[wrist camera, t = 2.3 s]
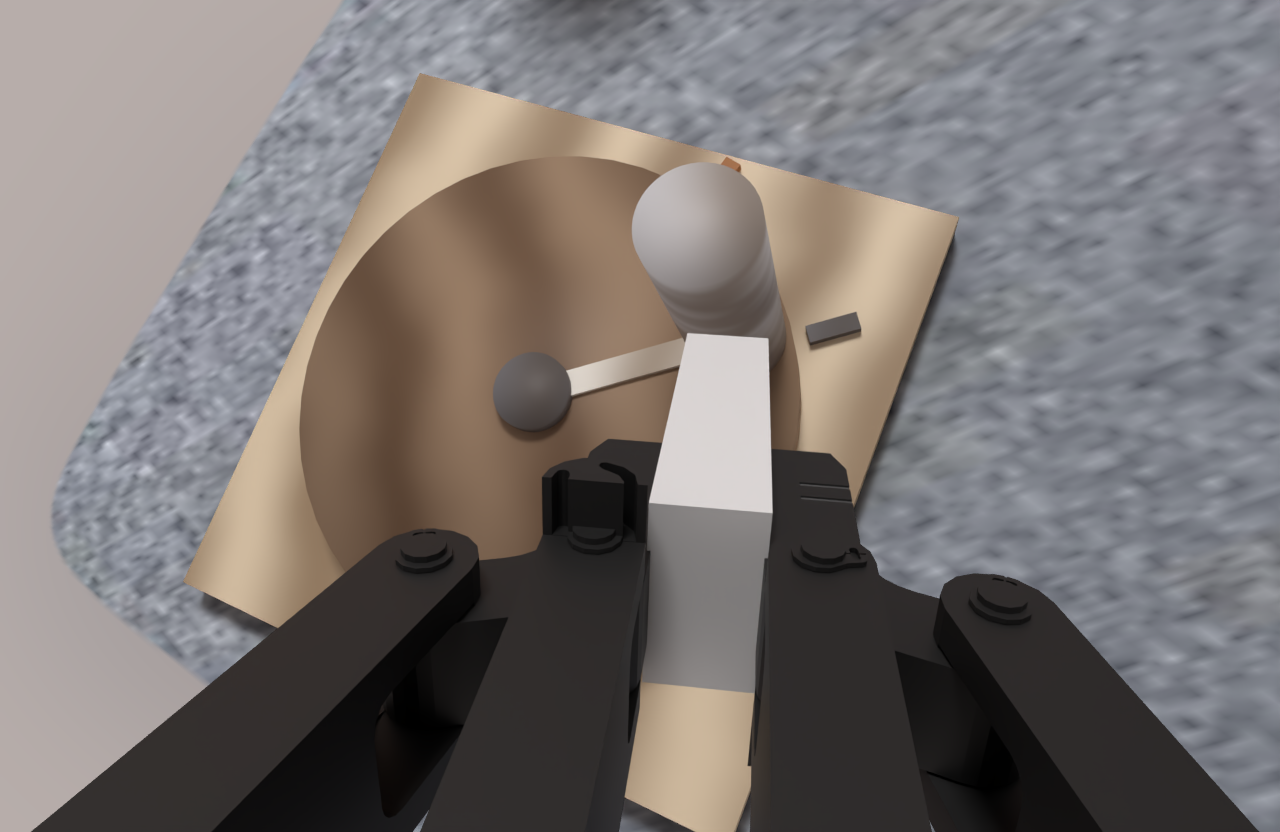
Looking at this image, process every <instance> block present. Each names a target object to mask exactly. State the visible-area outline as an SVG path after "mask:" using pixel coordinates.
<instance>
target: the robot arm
mask: <svg viewBox="0 0 1280 832" xmlns="http://www.w3.org/2000/svg"><path fill="white" fill-rule="evenodd" d="M542 526H543V535H542V537H541V540H540V542H539V545H538V547H537V549H536V550H535V551H532V552H529V553H526V554H522V555H518V556H512V557H506V558H497V559H487V560H479V553H478V546H477V545H476V544H475V543H474V542H473V541H472V540H471V539H470V538H469V537H468V536H465V535H462V534H460V533H457V532H455V531H450V530H441V529H436V528H426V529H424V530H423V529H417V530H412V531H410V532H406V533H403V534H400V535H396V536H393V537H392V538H390V539H388V540H387V541H385V542H383V543H381V544H380V545H378V546H377V547H376V548H374V549H373V550H372V551H371V552H370V553H368V554H367V555H366V556H365V557H364V558H362V559H361V560H360V561H359V562H358V563H356V564H355V565H354V566H353V567H351V568H350V569H349V570H348V571H347V572H345V573H344V574H343V575H342V576H341V577H339V578H338V579H337V580H336V581H334V582H333V583H332V584H331V585H330V586H328V587H327V588H326V589H325V590H324V591H322V592H321V593H320V594H319V595H317V596H316V597H315V598H314V599H313V600H311V601H310V602H309V603H308V604H307V605H305V606H304V607H303V608H302V609H301V610H299V611H298V612H297V613H296V614H294V615H293V616H292V617H291V618H290V619H288V620H287V621H286V622H285V623H284V624H282V625H281V626H280V627H279V628H277V629H276V630H275V631H274V632H273V633H271V634H270V635H269V636H268V637H267V638H265V639H264V640H263V641H262V642H261V643H259V644H258V645H257V646H256V647H254V648H253V649H252V650H251V651H250V652H248V653H247V654H246V655H245V656H244V657H242V658H241V659H240V660H239V661H237V662H236V663H235V664H234V665H233V666H231V667H230V668H229V669H228V670H227V671H225V672H224V673H223V674H222V675H221V676H219V677H218V678H217V679H216V680H214V681H213V682H212V683H211V684H210V685H208V686H207V687H206V688H205V689H204V690H202V691H201V692H200V693H199V694H198V695H196V696H195V697H194V698H193V699H191V700H190V701H189V702H188V703H187V704H186V705H184V706H183V707H182V708H181V709H179V710H178V711H177V712H176V713H174V714H173V715H172V716H171V717H170V718H168V719H167V720H166V721H165V722H164V723H162V724H161V725H160V726H159V727H157V728H156V729H155V730H154V731H153V732H152V733H150V734H149V735H148V736H147V737H146V738H144V739H143V740H142V741H141V742H139V743H138V744H137V745H136V746H135V747H133V748H132V749H131V750H130V751H128V752H127V753H126V754H125V755H124V756H122V757H121V758H120V759H119V760H117V761H116V762H115V763H114V764H113V765H112V766H110V767H109V768H108V769H107V770H106V771H104V772H103V773H102V774H101V775H99V776H98V777H97V778H96V779H95V780H93V781H92V782H91V783H90V784H88V785H87V786H86V787H85V788H84V789H82V790H81V791H80V792H79V793H77V794H76V795H75V796H74V797H73V798H71V799H70V800H69V801H68V802H67V803H65V804H64V805H63V806H62V807H61V808H59V809H58V810H57V811H56V812H55V813H54V814H52V815H51V816H50V817H49V818H47V819H46V820H45V821H44V822H42V823H41V824H40V825H39V826H38V827H36V828H35V829H34V830H33V831H32V832H413V831H414V829H415V828H416V826H417V825H418V824H419V822H420V821H421V820H422V818H423V817H424V816H425V814H426V813H427V812H428V814H427V816H426V819H425V821H424V824H423V826H422V828H421V831H420V832H619V828H620V822H621V816H622V810H623V804H624V798H625V792H626V786H627V780H628V774H629V769H630V763H631V757H632V751H633V745H634V739H635V733H636V727H637V721H638V715H639V710H640V686H641V673H642V668H643V673H642V682H647V683H657V684H667V685H676V686H686V687H696V688H706V689H716V690H725V691H735V692H745V693H755V694H754V704H753V715H752V725H751V735H750V745H749V755H748V765H747V766H751V814H750V832H932V831H931V826H930V822H931V824H932V826H933V828H934V830H935V832H1259V831H1258V830H1257V829H1256V828H1255V827H1254V826H1253V824H1252V823H1251V822H1250V821H1249V820H1248V819H1247V818H1246V817H1245V815H1244V814H1243V813H1242V812H1241V811H1240V810H1239V809H1238V808H1237V807H1236V805H1235V804H1234V803H1233V802H1232V801H1231V800H1230V799H1229V798H1228V797H1227V795H1226V794H1225V793H1224V792H1223V791H1222V790H1221V789H1220V788H1219V786H1218V785H1217V784H1216V783H1215V782H1214V781H1213V780H1212V779H1211V778H1210V776H1209V775H1208V774H1207V773H1206V772H1205V771H1204V770H1203V769H1202V767H1201V766H1200V765H1199V764H1198V763H1197V762H1196V761H1195V760H1194V759H1193V757H1192V756H1191V755H1190V754H1189V753H1188V752H1187V751H1186V750H1185V748H1184V747H1183V746H1182V745H1181V744H1180V743H1179V742H1178V741H1177V740H1176V738H1175V737H1174V736H1173V735H1172V734H1171V733H1170V732H1169V731H1168V729H1167V728H1166V727H1165V726H1164V725H1163V724H1162V723H1161V722H1160V721H1159V719H1158V718H1157V717H1156V716H1155V715H1154V714H1153V713H1152V712H1151V710H1150V709H1149V708H1148V707H1147V706H1146V705H1145V704H1144V703H1143V702H1142V700H1141V699H1140V698H1139V697H1138V696H1137V695H1136V694H1135V693H1134V691H1133V690H1132V689H1131V688H1130V687H1129V686H1128V685H1127V684H1126V683H1125V681H1124V680H1123V679H1122V678H1121V677H1120V676H1119V675H1118V674H1117V673H1116V671H1115V670H1114V669H1113V668H1112V667H1111V666H1110V665H1109V664H1108V662H1107V661H1106V660H1105V659H1104V658H1103V657H1102V656H1101V655H1100V654H1099V652H1098V651H1097V650H1096V649H1095V648H1094V647H1093V646H1092V645H1091V643H1090V642H1089V641H1088V640H1087V639H1086V638H1085V637H1084V636H1083V635H1082V633H1081V632H1080V631H1079V630H1078V629H1077V628H1076V627H1075V626H1074V624H1073V623H1072V622H1071V621H1070V620H1069V619H1068V618H1067V617H1066V616H1065V614H1064V613H1063V612H1062V611H1061V610H1060V609H1059V608H1058V607H1057V605H1056V604H1055V603H1054V602H1052V601H1051V600H1050V599H1049V598H1048V597H1046V596H1045V595H1044V594H1043V593H1041V592H1040V591H1039V590H1037V589H1035V588H1033V587H1030V586H1028V585H1026V584H1024V583H1022V582H1020V581H1018V580H1016V579H1012V578H1009V577H1007V578H1006V577H1004V576H1001V575H995V574H969V575H963V576H957V577H955V578H953V579H952V580H950V581H949V582H947V583H945V584H944V586H943V589H942V592H941V594H940V599H939V598H935V597H932V596H928V595H924V594H921V593H917V592H914V591H911V590H908V589H905V588H902V587H899V586H897V585H895V584H893V583H891V582H889V581H887V580H885V579H884V578H882V577H881V576H880V575H879V573H878V568H877V563H876V561H875V560H874V558H873V556H872V554H871V552H870V551H869V550H867V549H866V548H865V547H863V546H862V545H861V544H860V539H859V534H858V529H857V523H856V518H855V513H854V507H853V503H852V497H851V491H850V489H849V481H848V475H847V470H846V468H845V467H844V466H843V465H842V464H841V463H840V462H839V461H838V460H836V459H835V458H834V457H833V456H832V455H831V454H830V453H820V452H807V451H794V450H781V449H771V428H770V387H769V346H768V338H754V337H739V336H724V335H708V334H693V333H687V337H686V342H685V346H684V350H683V355H682V359H681V364H680V368H679V372H678V377H677V381H676V386H675V390H674V394H673V399H672V403H671V407H670V412H669V416H668V421H667V425H666V429H665V434H664V438H663V443H659V442H646V441H632V440H619V439H607V440H606V441H604V442H603V443H601V444H600V445H599V446H597V447H596V448H594V449H593V450H592V451H590V453H589V456H588V458H579V459H574V460H569V461H564V462H562V463H560V464H558V465H555V466H553V467H551V468H549V470H548V471H547V472H546V473H545V474H544V475H543V476H542ZM428 810H429V811H428ZM929 820H930V821H929Z"/></svg>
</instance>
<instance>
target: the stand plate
mask: <svg viewBox="0 0 1280 832" xmlns="http://www.w3.org/2000/svg"><path fill="white" fill-rule="evenodd" d="M562 156H583V157H592V158H600V159H608V160H615V161H618V162H622V163H626V164H630V165H634V166H638V167H642V168H645V169H647V170H650V171H652V172H654V173H657V174H659V175H663V174H665V173H666V172H668V171H670V170H672V169H674V168H677V167H679V166H682V165H686V164H690V163H698V162H709V163H716V164H720V165H724V166H727V167H729V168H732V169H734V170H735V171H737V172H739V173H740V174H742V175H743V176H744V177H746V178H747V179H748V180H749V181H750V182H751V184H752V185H753V186H754V188H755V189H756V191H757V193H758V194H759V196H760V199H761V202H762V205H763V210H764V215H765V220H766V225H767V231H768V236H769V242H770V247H771V252H772V258H773V263H774V269H775V274H776V279H777V285H778V290H779V293H780V296H781V299H782V302H783V305H784V307H785V310H786V313H787V316H788V318H789V321H790V325H791V330H792V335H793V339H794V344H795V349H796V354H797V359H798V366H799V373H800V388H801V403H802V404H801V419H800V433H799V441H798V445H797V450H796V451H807V452H820V453H830V454H831V455H832V456H833V457H834V458H835V459H836V460H838V461H839V462H840V463H841V464H842V465H843V466H844V467H845V468H846V470H847V475H848V481H849V489H850V491H851V497H852V503H853V507H855V504H856V502H857V499H858V496H859V494H860V491H861V488H862V485H863V483H864V480H865V477H866V474H867V472H868V469H869V466H870V463H871V461H872V458H873V455H874V453H875V450H876V447H877V444H878V442H879V439H880V436H881V433H882V431H883V428H884V425H885V422H886V420H887V417H888V414H889V411H890V409H891V406H892V403H893V401H894V398H895V395H896V392H897V390H898V387H899V384H900V381H901V379H902V376H903V373H904V370H905V368H906V365H907V362H908V359H909V357H910V354H911V351H912V349H913V346H914V343H915V340H916V338H917V335H918V332H919V329H920V327H921V324H922V321H923V318H924V316H925V313H926V310H927V307H928V305H929V302H930V299H931V297H932V294H933V291H934V288H935V286H936V283H937V280H938V277H939V275H940V272H941V269H942V266H943V264H944V261H945V258H946V256H947V253H948V250H949V247H950V245H951V242H952V239H953V236H954V234H955V230H956V227H957V223H958V219H959V217H956V216H953V215H949V214H945V213H941V212H938V211H934V210H930V209H926V208H923V207H919V206H915V205H911V204H908V203H904V202H900V201H896V200H893V199H889V198H885V197H881V196H878V195H874V194H870V193H866V192H863V191H859V190H855V189H851V188H848V187H844V186H840V185H837V184H833V183H829V182H825V181H822V180H818V179H814V178H810V177H807V176H803V175H799V174H795V173H792V172H788V171H784V170H780V169H777V168H773V167H769V166H765V165H762V164H758V163H754V162H750V161H747V160H743V159H739V158H735V157H732V156H728V155H724V154H720V153H717V152H713V151H709V150H705V149H702V148H698V147H694V146H690V145H687V144H683V143H679V142H675V141H672V140H668V139H664V138H661V137H657V136H653V135H649V134H646V133H642V132H638V131H634V130H631V129H627V128H623V127H619V126H616V125H612V124H608V123H604V122H601V121H597V120H593V119H589V118H586V117H582V116H578V115H574V114H571V113H567V112H563V111H559V110H556V109H552V108H548V107H544V106H541V105H537V104H533V103H529V102H526V101H522V100H518V99H514V98H511V97H507V96H503V95H499V94H496V93H492V92H488V91H485V90H481V89H477V88H473V87H470V86H466V85H462V84H458V83H455V82H451V81H447V80H443V79H440V78H436V77H432V76H428V75H425V74H421V73H420V74H419V76H418V78H417V80H416V83H415V85H414V87H413V89H412V91H411V93H410V95H409V98H408V100H407V102H406V104H405V106H404V108H403V110H402V113H401V115H400V117H399V119H398V121H397V123H396V126H395V128H394V130H393V132H392V134H391V136H390V138H389V141H388V143H387V145H386V147H385V149H384V151H383V153H382V156H381V158H380V160H379V162H378V164H377V166H376V169H375V171H374V173H373V175H372V177H371V179H370V181H369V184H368V186H367V188H366V190H365V192H364V194H363V196H362V199H361V201H360V203H359V205H358V207H357V209H356V211H355V214H354V216H353V218H352V220H351V222H350V224H349V227H348V229H347V231H346V233H345V235H344V237H343V239H342V242H341V244H340V246H339V248H338V250H337V252H336V254H335V257H334V259H333V261H332V263H331V265H330V267H329V269H328V272H327V274H326V276H325V278H324V280H323V282H322V285H321V287H320V289H319V291H318V293H317V295H316V297H315V300H314V302H313V304H312V306H311V308H310V310H309V312H308V315H307V317H306V319H305V321H304V323H303V325H302V327H301V330H300V332H299V334H298V336H297V338H296V340H295V343H294V345H293V347H292V349H291V351H290V353H289V355H288V358H287V360H286V362H285V364H284V366H283V368H282V370H281V373H280V375H279V377H278V379H277V381H276V383H275V386H274V388H273V390H272V392H271V394H270V396H269V398H268V401H267V403H266V405H265V407H264V409H263V411H262V413H261V416H260V418H259V420H258V422H257V424H256V426H255V428H254V431H253V433H252V435H251V437H250V439H249V441H248V444H247V446H246V448H245V450H244V452H243V454H242V456H241V459H240V461H239V463H238V465H237V467H236V469H235V471H234V474H233V476H232V478H231V480H230V482H229V484H228V486H227V489H226V491H225V493H224V495H223V497H222V499H221V502H220V504H219V506H218V508H217V510H216V512H215V514H214V517H213V519H212V521H211V523H210V525H209V527H208V529H207V532H206V534H205V536H204V538H203V540H202V542H201V544H200V547H199V549H198V551H197V553H196V555H195V557H194V560H193V562H192V564H191V566H190V568H189V570H188V572H187V575H186V577H185V579H184V581H183V582H184V583H186V584H188V585H190V586H193V587H195V588H197V589H199V590H201V591H203V592H205V593H207V594H209V595H211V596H213V597H215V598H217V599H219V600H221V601H223V602H225V603H227V604H229V605H231V606H234V607H236V608H238V609H240V610H242V611H244V612H246V613H248V614H250V615H252V616H254V617H256V618H258V619H260V620H262V621H264V622H266V623H268V624H270V625H272V626H275V627H277V628H279V627H280V626H281V625H282V624H284V623H285V622H286V621H287V620H288V619H290V618H291V617H292V616H293V615H294V614H296V613H297V612H298V611H299V610H301V609H302V608H303V607H304V606H305V605H307V604H308V603H309V602H310V601H311V600H313V599H314V598H315V597H316V596H317V595H319V594H320V593H321V592H322V591H324V590H325V589H326V588H327V587H328V586H330V585H331V584H332V583H333V582H334V581H336V580H337V579H338V578H339V577H341V576H342V575H343V574H344V573H345V570H344V569H343V567H342V566H341V564H340V563H339V561H338V560H337V558H336V557H335V555H334V554H333V552H332V551H331V549H330V547H329V545H328V543H327V541H326V539H325V537H324V535H323V533H322V531H321V529H320V527H319V525H318V522H317V520H316V517H315V514H314V511H313V508H312V505H311V502H310V499H309V496H308V493H307V489H306V484H305V478H304V473H303V467H302V462H301V450H300V433H299V424H300V409H301V396H302V390H303V385H304V380H305V374H306V369H307V365H308V361H309V358H310V355H311V352H312V348H313V345H314V342H315V339H316V336H317V333H318V331H319V329H320V327H321V324H322V322H323V320H324V318H325V315H326V313H327V311H328V308H329V306H330V305H331V303H332V301H333V300H334V298H335V296H336V294H337V293H338V291H339V289H340V288H341V286H342V284H343V282H344V281H345V279H346V278H347V277H348V275H349V274H350V273H351V271H352V270H353V268H354V267H355V266H356V264H357V263H358V262H359V260H360V259H361V258H362V256H363V255H364V254H365V253H366V252H367V251H368V250H369V249H370V247H371V246H372V245H373V244H374V243H375V242H376V241H377V240H378V239H379V238H380V237H381V236H382V235H383V234H384V232H385V231H387V230H388V229H389V228H390V227H391V226H392V225H394V224H395V223H396V222H397V221H398V220H399V219H401V218H402V217H403V216H404V215H405V214H406V213H408V212H409V211H410V210H412V209H413V208H415V207H416V206H418V205H419V204H421V203H422V202H423V201H425V200H426V199H428V198H429V197H431V196H432V195H434V194H435V193H437V192H439V191H441V190H443V189H445V188H447V187H449V186H451V185H453V184H454V183H456V182H458V181H460V180H462V179H465V178H467V177H470V176H472V175H475V174H478V173H480V172H483V171H485V170H488V169H490V168H494V167H498V166H502V165H506V164H510V163H514V162H517V161H522V160H529V159H537V158H544V157H562ZM642 673H643V668H642ZM642 673H641V686H640V710H639V715H638V721H637V727H636V733H635V739H634V745H633V751H632V757H631V763H630V769H629V774H628V780H627V786H626V792H625V798H627V799H629V800H631V801H633V802H635V803H637V804H639V805H642V806H644V807H646V808H648V809H650V810H652V811H654V812H656V813H658V814H660V815H662V816H664V817H666V818H668V819H670V820H672V821H674V822H676V823H678V824H680V825H683V826H685V827H687V828H689V829H691V830H693V831H695V832H736V830H737V827H738V825H739V822H740V819H741V816H742V814H743V811H744V808H745V805H746V803H747V800H748V797H749V795H750V792H751V766H747V765H748V755H749V745H750V735H751V725H752V715H753V704H754V694H755V693H745V692H735V691H725V690H716V689H706V688H696V687H686V686H676V685H667V684H657V683H647V682H642Z"/></svg>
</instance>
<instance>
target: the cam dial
mask: <svg viewBox="0 0 1280 832" xmlns="http://www.w3.org/2000/svg"><path fill="white" fill-rule="evenodd" d="M687 333H693V334H708V335H724V336H739V337H754V338H768V346H769V387H770V428H771V449H781V450H794V451H796V450H797V445H798V441H799V433H800V419H801V404H802V403H801V388H800V373H799V366H798V359H797V354H796V349H795V344H794V339H793V335H792V330H791V325H790V321H789V318H788V316H787V313H786V310H785V307H784V305H783V302H782V299H781V296H780V293H779V290H778V285H777V279H776V274H775V269H774V263H773V258H772V252H771V247H770V242H769V236H768V231H767V225H766V220H765V215H764V210H763V205H762V202H761V199H760V196H759V194H758V193H757V191H756V189H755V188H754V186H753V185H752V184H751V182H750V181H749V180H748V179H747V178H746V177H744V176H743V175H742V174H740V173H739V172H737V171H735V170H734V169H732V168H729V167H727V166H724V165H720V164H716V163H709V162H698V163H690V164H686V165H682V166H679V167H677V168H674V169H672V170H670V171H668V172H666V173H665V174H663V175H659V174H657V173H654V172H652V171H650V170H647V169H645V168H642V167H638V166H634V165H630V164H626V163H622V162H618V161H615V160H608V159H600V158H592V157H583V156H562V157H544V158H537V159H529V160H522V161H517V162H514V163H510V164H506V165H502V166H498V167H494V168H490V169H488V170H485V171H483V172H480V173H478V174H475V175H472V176H470V177H467V178H465V179H462V180H460V181H458V182H456V183H454V184H453V185H451V186H449V187H447V188H445V189H443V190H441V191H439V192H437V193H435V194H434V195H432V196H431V197H429V198H428V199H426V200H425V201H423V202H422V203H421V204H419V205H418V206H416V207H415V208H413V209H412V210H410V211H409V212H408V213H406V214H405V215H404V216H403V217H402V218H401V219H399V220H398V221H397V222H396V223H395V224H394V225H392V226H391V227H390V228H389V229H388V230H387V231H385V232H384V234H383V235H382V236H381V237H380V238H379V239H378V240H377V241H376V242H375V243H374V244H373V245H372V246H371V247H370V249H369V250H368V251H367V252H366V253H365V254H364V255H363V256H362V258H361V259H360V260H359V262H358V263H357V264H356V266H355V267H354V268H353V270H352V271H351V273H350V274H349V275H348V277H347V278H346V279H345V281H344V282H343V284H342V286H341V288H340V289H339V291H338V293H337V294H336V296H335V298H334V300H333V301H332V303H331V305H330V306H329V308H328V311H327V313H326V315H325V318H324V320H323V322H322V324H321V327H320V329H319V331H318V333H317V336H316V339H315V342H314V345H313V348H312V352H311V355H310V358H309V361H308V365H307V369H306V374H305V380H304V385H303V390H302V396H301V409H300V424H299V433H300V450H301V462H302V467H303V473H304V478H305V484H306V489H307V493H308V496H309V499H310V502H311V505H312V508H313V511H314V514H315V517H316V520H317V522H318V525H319V527H320V529H321V531H322V533H323V535H324V537H325V539H326V541H327V543H328V545H329V547H330V549H331V551H332V552H333V554H334V555H335V557H336V558H337V560H338V561H339V563H340V564H341V566H342V567H343V569H344V570H345V572H347V571H348V570H349V569H350V568H351V567H353V566H354V565H355V564H356V563H358V562H359V561H360V560H361V559H362V558H364V557H365V556H366V555H367V554H368V553H370V552H371V551H372V550H373V549H374V548H376V547H377V546H378V545H380V544H381V543H383V542H385V541H387V540H388V539H390V538H392V537H393V536H396V535H400V534H403V533H406V532H410V531H412V530H417V529H423V530H424V529H426V528H436V529H441V530H450V531H455V532H457V533H460V534H462V535H465V536H468V537H469V538H470V539H471V540H472V541H473V542H474V543H475V544H476V545H477V546H478V553H479V560H487V559H497V558H506V557H512V556H518V555H522V554H526V553H529V552H532V551H535V550H536V549H537V547H538V545H539V542H540V540H541V537H542V535H543V526H542V476H543V475H544V474H545V473H546V472H547V471H548V470H549V468H551V467H553V466H555V465H558V464H560V463H562V462H564V461H569V460H574V459H579V458H588V456H589V453H590V451H592V450H593V449H594V448H596V447H597V446H599V445H600V444H601V443H603V442H604V441H606V440H607V439H619V440H632V441H646V442H659V443H663V438H664V434H665V429H666V425H667V421H668V416H669V412H670V407H671V403H672V399H673V394H674V390H675V386H676V381H677V377H678V372H679V368H680V364H681V359H682V355H683V350H684V346H685V342H686V337H687Z"/></svg>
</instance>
